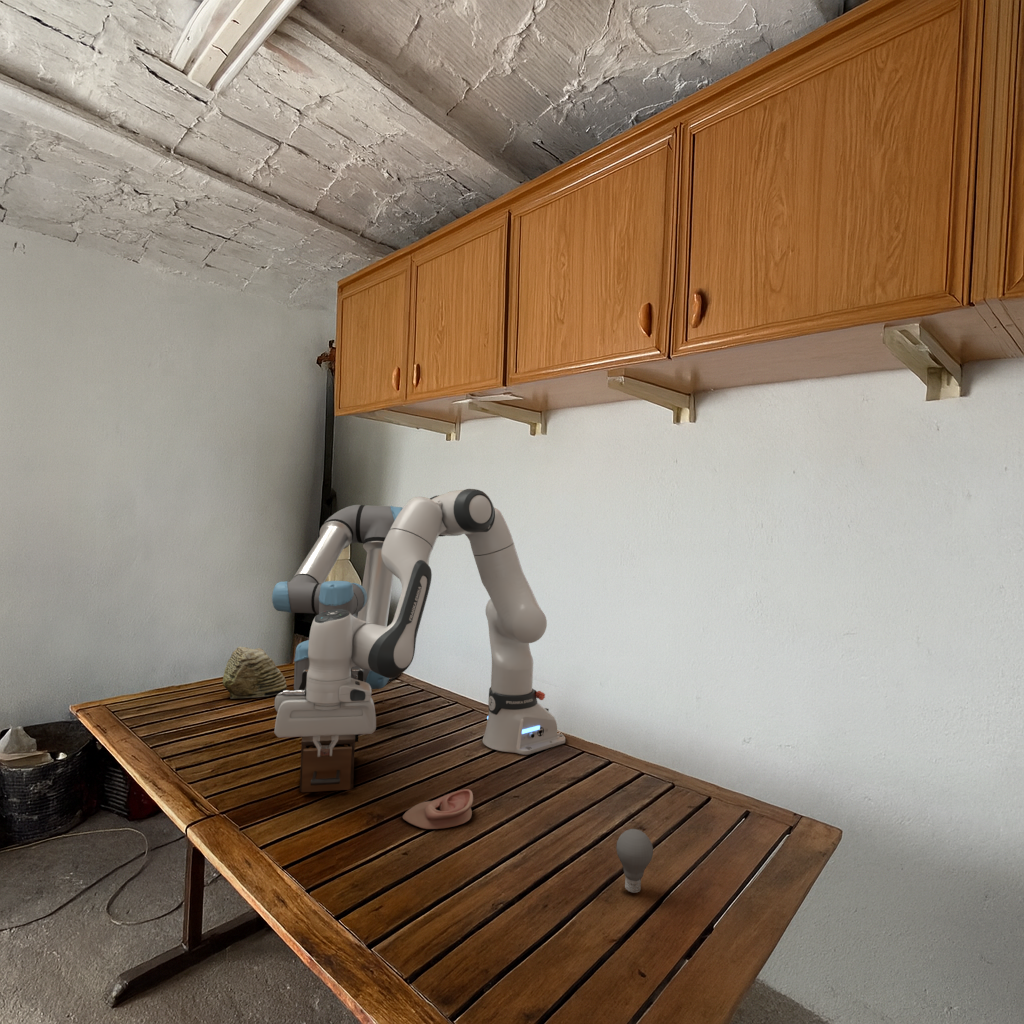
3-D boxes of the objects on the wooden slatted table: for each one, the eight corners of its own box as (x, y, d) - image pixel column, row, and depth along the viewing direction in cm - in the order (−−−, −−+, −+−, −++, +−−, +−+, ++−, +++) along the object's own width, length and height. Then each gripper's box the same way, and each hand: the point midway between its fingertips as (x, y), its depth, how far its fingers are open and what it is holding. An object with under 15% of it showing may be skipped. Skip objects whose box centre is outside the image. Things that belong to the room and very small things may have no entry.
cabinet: (353, 788, 138) (355, 739, 138) (299, 791, 136) (301, 741, 135) (354, 758, 154) (356, 713, 154) (306, 760, 151) (308, 715, 151)
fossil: (218, 695, 195) (220, 647, 195) (278, 685, 208) (279, 640, 207) (228, 703, 189) (230, 653, 188) (289, 692, 201) (290, 645, 201)
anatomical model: (397, 804, 123) (417, 779, 135) (396, 824, 123) (417, 798, 135) (462, 814, 121) (478, 788, 132) (462, 835, 121) (477, 807, 132)
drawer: (349, 801, 130) (351, 758, 130) (299, 804, 128) (300, 760, 128) (351, 761, 150) (353, 723, 150) (307, 763, 148) (309, 725, 147)
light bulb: (610, 879, 108) (613, 822, 108) (644, 879, 109) (647, 822, 109) (619, 902, 102) (622, 840, 102) (655, 901, 103) (658, 840, 103)
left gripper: (278, 652, 142) (275, 749, 142) (386, 651, 147) (382, 744, 147) (283, 644, 149) (279, 736, 149) (385, 643, 154) (381, 732, 155)
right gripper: (273, 695, 125) (269, 764, 126) (378, 692, 131) (375, 759, 131) (276, 685, 132) (273, 751, 132) (376, 683, 137) (373, 747, 137)
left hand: (330, 740), depth 148 cm, fingers closed on cabinet, 11 cm apart
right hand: (324, 755), depth 131 cm, fingers closed
